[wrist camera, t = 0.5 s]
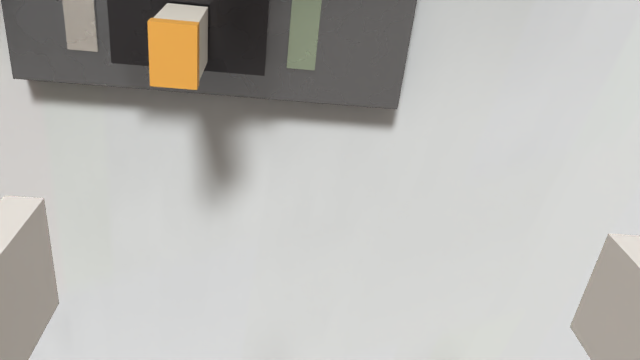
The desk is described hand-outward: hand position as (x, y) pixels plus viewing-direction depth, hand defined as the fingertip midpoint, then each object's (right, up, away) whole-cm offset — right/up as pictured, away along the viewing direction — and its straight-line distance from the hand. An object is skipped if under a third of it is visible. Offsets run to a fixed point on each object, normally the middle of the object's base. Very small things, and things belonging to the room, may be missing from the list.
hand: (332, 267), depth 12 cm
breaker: (-7, +9, +16) cm, 20 cm away
